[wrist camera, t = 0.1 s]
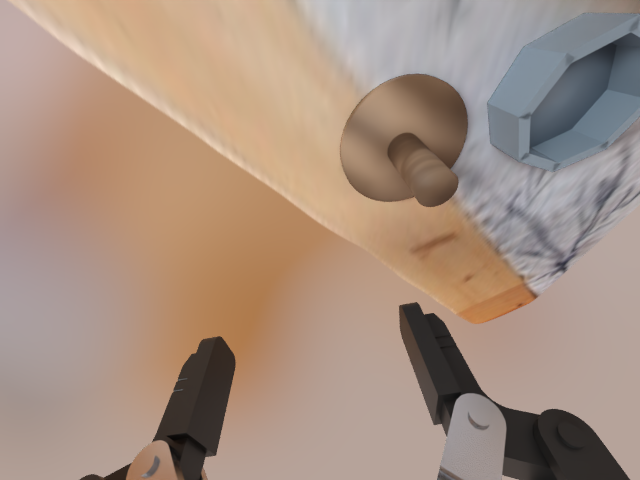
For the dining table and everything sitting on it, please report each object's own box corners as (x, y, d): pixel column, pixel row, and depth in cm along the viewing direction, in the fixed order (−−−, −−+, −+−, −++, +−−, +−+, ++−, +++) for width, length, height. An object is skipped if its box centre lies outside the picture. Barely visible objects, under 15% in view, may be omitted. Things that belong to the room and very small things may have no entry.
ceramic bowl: (555, -3, 22) (609, -6, 18) (643, 45, 25) (705, 52, 21) (466, 135, 29) (491, 153, 26) (543, 159, 32) (575, 179, 29)
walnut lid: (369, 52, 24) (406, 72, 16) (489, 97, 27) (565, 130, 20) (324, 184, 32) (335, 236, 25) (419, 205, 36) (454, 256, 28)
